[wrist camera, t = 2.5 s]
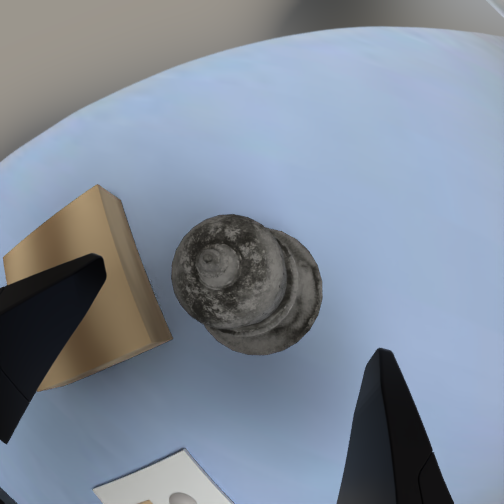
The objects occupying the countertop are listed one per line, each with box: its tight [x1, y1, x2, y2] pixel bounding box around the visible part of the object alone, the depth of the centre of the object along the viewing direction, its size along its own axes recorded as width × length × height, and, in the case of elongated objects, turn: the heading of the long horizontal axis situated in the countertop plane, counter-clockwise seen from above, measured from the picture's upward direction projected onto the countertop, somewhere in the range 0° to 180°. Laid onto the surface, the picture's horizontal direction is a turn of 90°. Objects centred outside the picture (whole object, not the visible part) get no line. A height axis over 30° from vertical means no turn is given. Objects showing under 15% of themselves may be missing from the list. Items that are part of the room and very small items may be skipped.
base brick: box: [3, 184, 173, 392], centre depth 17 cm, size 10×10×3 cm
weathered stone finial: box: [171, 214, 322, 355], centre depth 12 cm, size 6×6×12 cm
